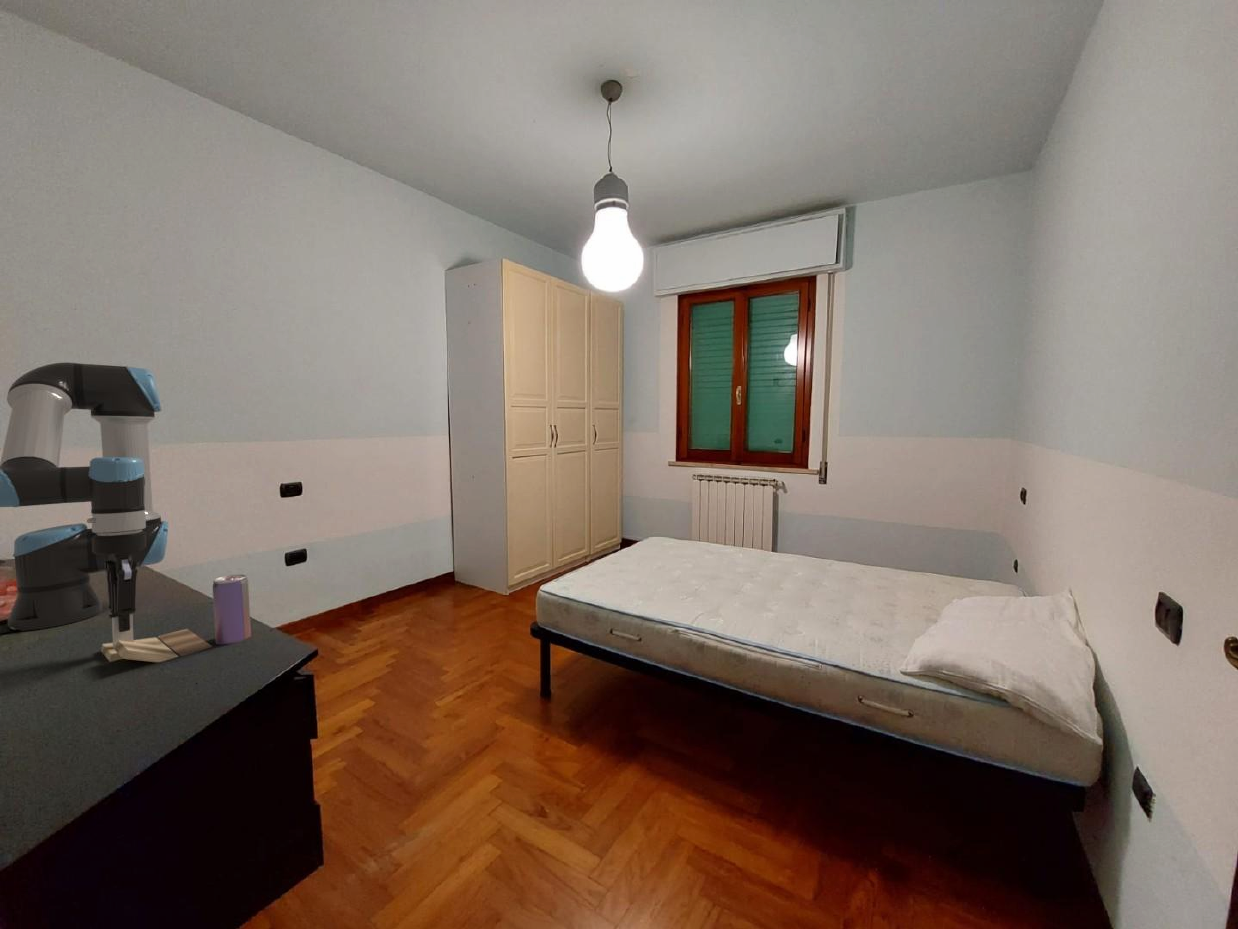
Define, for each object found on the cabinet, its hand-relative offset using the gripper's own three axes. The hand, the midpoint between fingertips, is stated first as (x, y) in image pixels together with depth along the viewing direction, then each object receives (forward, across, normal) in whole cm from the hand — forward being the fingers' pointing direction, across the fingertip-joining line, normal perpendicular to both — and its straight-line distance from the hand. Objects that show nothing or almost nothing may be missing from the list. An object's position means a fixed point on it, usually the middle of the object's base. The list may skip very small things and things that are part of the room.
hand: (123, 645), depth 95 cm
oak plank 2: (+1, +8, +1) cm, 8 cm away
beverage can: (+3, +11, +15) cm, 19 cm away
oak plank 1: (+2, 0, +1) cm, 2 cm away
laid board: (+3, +4, +8) cm, 10 cm away
